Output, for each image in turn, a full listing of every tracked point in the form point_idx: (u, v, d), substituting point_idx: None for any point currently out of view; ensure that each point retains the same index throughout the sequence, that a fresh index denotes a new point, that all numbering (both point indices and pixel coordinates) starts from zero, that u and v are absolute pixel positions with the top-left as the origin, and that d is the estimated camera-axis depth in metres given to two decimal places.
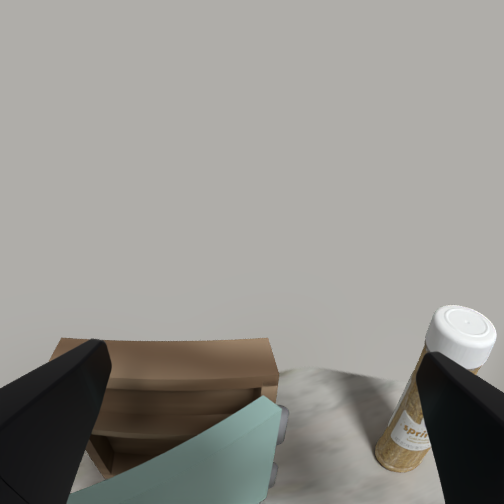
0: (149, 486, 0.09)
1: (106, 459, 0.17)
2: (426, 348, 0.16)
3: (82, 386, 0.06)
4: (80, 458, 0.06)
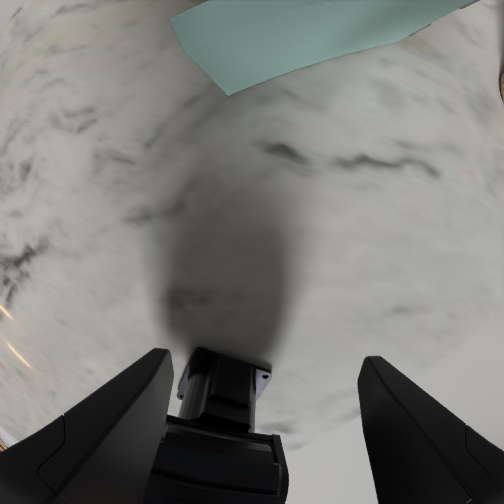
0: None
1: None
2: None
3: (153, 401, 0.06)
4: (147, 477, 0.06)
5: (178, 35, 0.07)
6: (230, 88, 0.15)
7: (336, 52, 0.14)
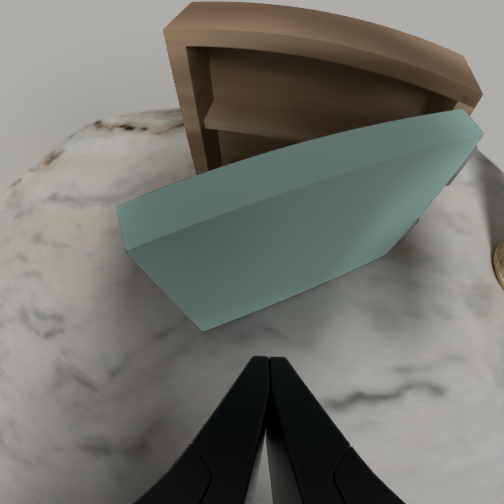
0: (319, 175, 0.07)
1: (211, 168, 0.18)
2: None
3: (267, 411, 0.06)
4: (254, 490, 0.06)
5: (123, 228, 0.07)
6: (203, 321, 0.14)
7: (321, 276, 0.16)
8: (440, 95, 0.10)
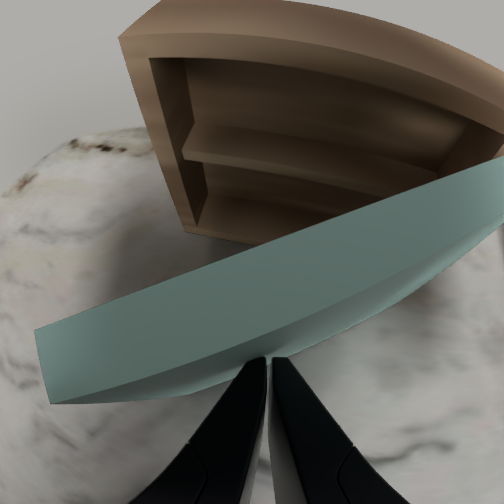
0: (339, 292, 0.04)
1: (195, 203, 0.15)
2: None
3: (264, 411, 0.06)
4: None
5: (45, 368, 0.04)
6: (185, 393, 0.11)
7: (324, 338, 0.13)
8: (480, 123, 0.08)
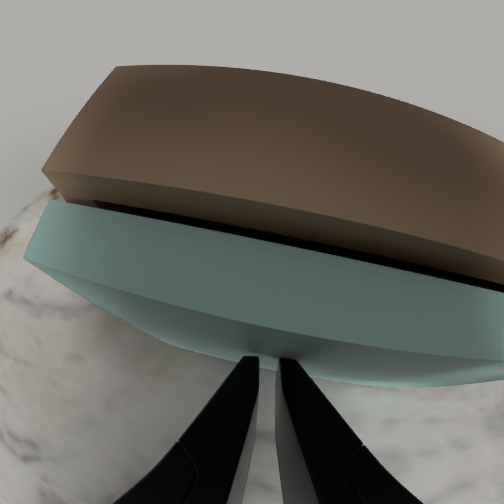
0: (289, 322, 0.04)
1: None
2: None
3: (256, 411, 0.06)
4: None
5: (38, 230, 0.05)
6: (164, 340, 0.12)
7: (311, 375, 0.12)
8: None
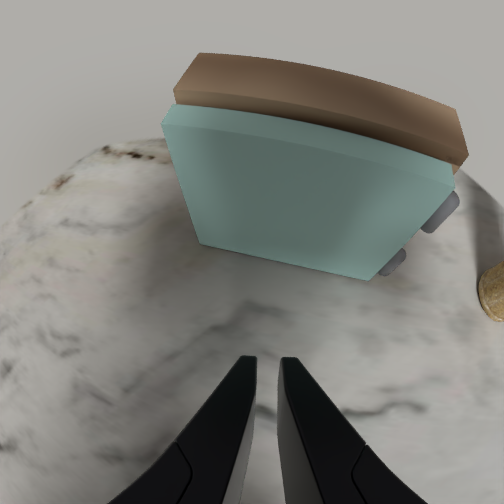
0: (281, 137, 0.11)
1: None
2: None
3: (253, 411, 0.06)
4: (241, 490, 0.06)
5: (168, 114, 0.11)
6: (200, 229, 0.19)
7: (301, 255, 0.19)
8: None
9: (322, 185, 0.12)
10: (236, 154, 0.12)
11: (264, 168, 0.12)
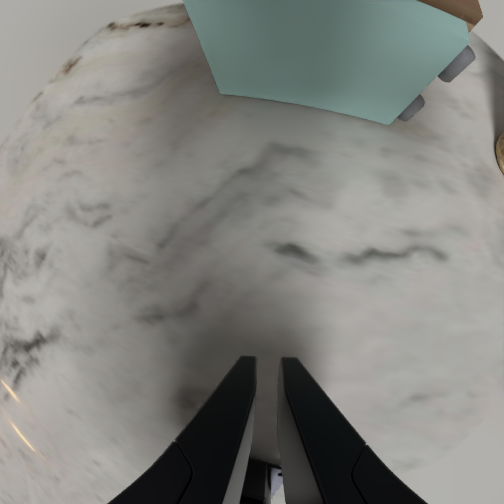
0: None
1: None
2: None
3: (253, 411, 0.06)
4: (241, 489, 0.06)
5: None
6: (220, 79, 0.17)
7: (322, 97, 0.17)
8: None
9: (341, 29, 0.10)
10: (254, 3, 0.09)
11: (283, 14, 0.10)
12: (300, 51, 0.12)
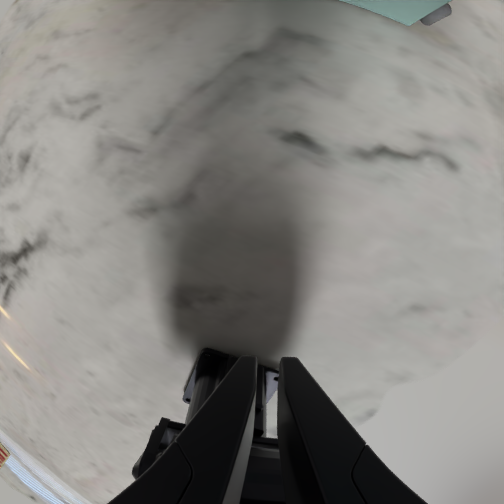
0: None
1: None
2: None
3: (253, 411, 0.06)
4: (241, 489, 0.06)
5: None
6: None
7: None
8: None
9: None
10: None
11: None
12: None
